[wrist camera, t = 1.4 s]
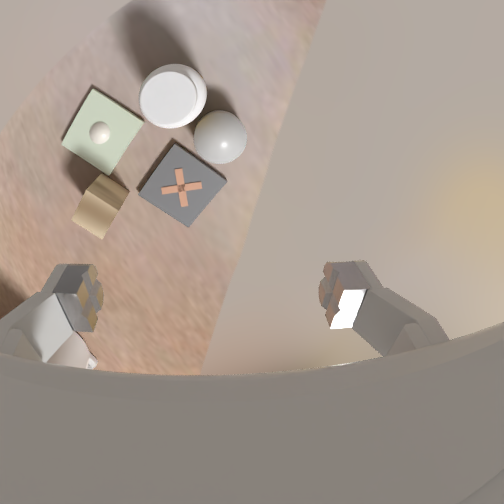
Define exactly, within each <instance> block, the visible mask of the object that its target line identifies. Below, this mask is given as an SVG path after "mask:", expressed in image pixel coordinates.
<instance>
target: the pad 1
mask: <svg viewBox="0 0 504 504" xmlns="http://www.w3.org/2000/svg"><path fill="white" fill-rule="evenodd" d="M144 123H145V121H143V120H142V119H140V118H139V117H137V116H136V115H134V114H133V113H131V112H130V111H128V110H127V109H125V108H124V107H122V106H121V105H119V104H118V103H116V102H115V101H113V100H112V99H110V98H109V97H107V96H105V95H104V94H102V93H101V92H99V91H98V90H96V89H92V91H91V92H90V94H89V95H88V97H87V99H86V100H85V102H84V104H83V105H82V107H81V109H80V110H79V112H78V114H77V116H76V117H75V119H74V121H73V123H72V125H71V127H70V128H69V130H68V132H67V134H66V136H65V138H64V140H63V142H62V145H63V146H65V147H66V148H68V149H69V150H71V151H72V152H74V153H75V154H77V155H78V156H80V157H81V158H83V159H84V160H86V161H87V162H89V163H90V164H92V165H93V166H95V167H96V168H98V169H99V170H101V171H102V172H104V173H105V174H107V175H108V176H109V175H110V174H111V173H112V171H113V169H114V168H115V166H116V164H117V163H118V161H119V160H120V158H121V157H122V155H123V153H124V152H125V150H126V149H127V147H128V146H129V144H130V143H131V141H132V140H133V138H134V137H135V135H136V134H137V132H138V131H139V130H140V128H141V127H142V125H143V124H144Z"/></svg>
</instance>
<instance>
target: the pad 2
mask: <svg viewBox="0 0 504 504" xmlns="http://www.w3.org/2000/svg"><path fill="white" fill-rule="evenodd" d="M226 183H227V180H226V179H225V178H224V177H222V176H221V175H220V174H218V173H217V172H215V171H214V170H213V169H211V168H210V167H209V166H207V165H206V164H204V163H203V162H202V161H200V160H199V159H198V158H196V157H195V156H193V155H192V154H191V153H189V152H188V151H186V150H185V149H184V148H182V147H181V146H179V145H178V144H176V143H175V144H174V145H173V146H172V148H171V149H170V150H169V152H168V153H167V154H166V156H165V157H164V158H163V160H162V161H161V162H160V164H159V165H158V166H157V168H156V169H155V171H154V172H153V173H152V175H151V176H150V178H149V179H148V181H147V182H146V183H145V185H144V186H143V188H142V189H141V191H140V192H139V194H138V195H139V196H141V197H142V198H144V199H145V200H147V201H148V202H150V203H151V204H153V205H154V206H156V207H158V208H159V209H161V210H162V211H164V212H165V213H167V214H168V215H170V216H172V217H173V218H175V219H176V220H178V221H179V222H181V223H182V224H184V225H186V226H187V227H189V226H190V225H191V224H192V223H193V221H194V220H195V219H196V218H197V217H198V215H199V214H200V213H201V212H202V211H203V209H204V208H205V207H206V206H207V205H208V204H209V202H210V201H211V200H212V199H213V198H214V196H215V195H216V194H217V193H218V192H219V191H220V189H221V188H222V187H223V186H224V185H225V184H226Z"/></svg>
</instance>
